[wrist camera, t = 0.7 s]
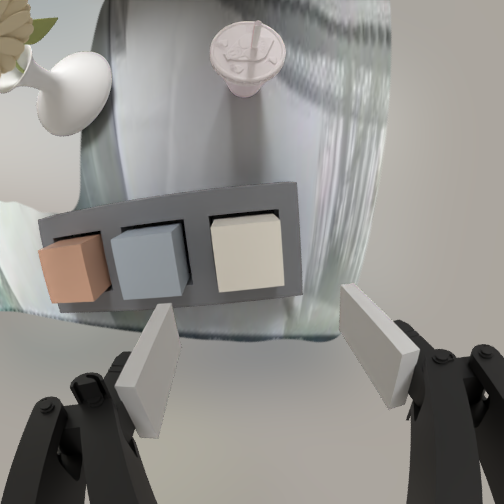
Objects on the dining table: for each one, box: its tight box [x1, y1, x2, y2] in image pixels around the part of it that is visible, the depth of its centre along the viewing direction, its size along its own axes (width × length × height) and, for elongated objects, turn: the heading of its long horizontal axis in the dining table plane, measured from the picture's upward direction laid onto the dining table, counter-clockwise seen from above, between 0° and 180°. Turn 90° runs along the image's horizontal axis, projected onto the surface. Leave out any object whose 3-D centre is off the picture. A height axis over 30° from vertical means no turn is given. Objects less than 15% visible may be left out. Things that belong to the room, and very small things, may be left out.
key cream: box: [210, 213, 284, 292], centre depth 28 cm, size 6×6×5 cm
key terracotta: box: [38, 234, 112, 303], centre depth 27 cm, size 6×6×5 cm
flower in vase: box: [0, 0, 112, 136], centre depth 15 cm, size 13×11×25 cm
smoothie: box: [210, 20, 286, 98], centre depth 22 cm, size 6×6×14 cm
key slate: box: [111, 223, 189, 300], centre depth 28 cm, size 6×6×5 cm
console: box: [38, 182, 303, 313], centre depth 31 cm, size 12×30×4 cm, turn 95°
